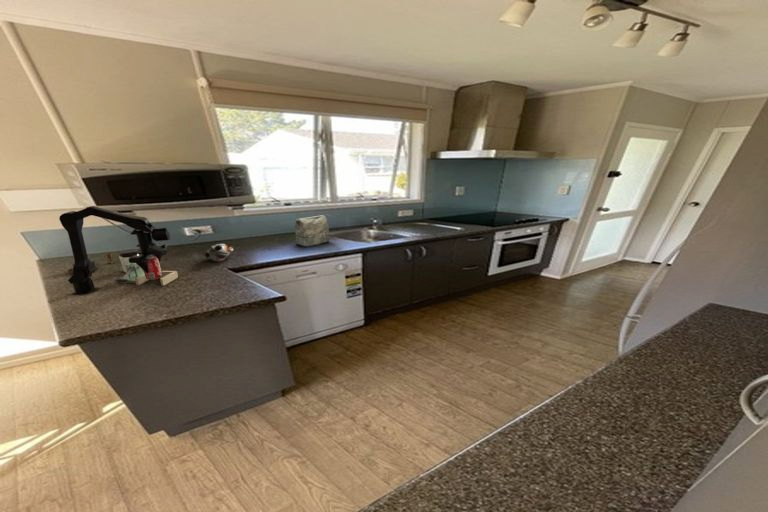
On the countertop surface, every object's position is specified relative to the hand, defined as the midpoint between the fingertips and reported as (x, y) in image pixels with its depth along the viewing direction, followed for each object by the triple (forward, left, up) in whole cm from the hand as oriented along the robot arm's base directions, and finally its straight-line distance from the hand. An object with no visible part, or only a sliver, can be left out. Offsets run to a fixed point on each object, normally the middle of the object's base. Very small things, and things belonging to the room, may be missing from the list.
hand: (152, 270), depth 152 cm
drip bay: (+2, 0, -7) cm, 7 cm away
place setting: (+18, +51, -8) cm, 55 cm away
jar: (+17, +26, -8) cm, 32 cm away
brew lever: (+1, +14, -3) cm, 14 cm away
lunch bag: (+83, -66, -8) cm, 106 cm away
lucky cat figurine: (+39, -14, -8) cm, 42 cm away
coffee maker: (+5, +14, -7) cm, 17 cm away
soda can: (0, 0, -5) cm, 5 cm away
